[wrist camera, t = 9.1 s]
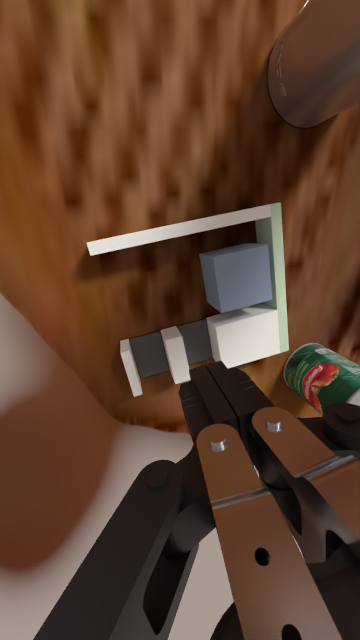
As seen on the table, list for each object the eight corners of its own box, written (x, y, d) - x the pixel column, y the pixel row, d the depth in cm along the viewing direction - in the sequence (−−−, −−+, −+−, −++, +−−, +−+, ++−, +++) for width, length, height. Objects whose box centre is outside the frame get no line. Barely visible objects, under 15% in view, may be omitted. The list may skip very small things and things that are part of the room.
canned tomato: (330, 380, 41) (399, 428, 31) (285, 396, 40) (341, 451, 30) (328, 335, 39) (404, 372, 28) (280, 351, 38) (341, 395, 27)
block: (246, 242, 32) (268, 244, 27) (251, 290, 34) (272, 299, 29) (198, 253, 31) (213, 257, 26) (207, 302, 33) (221, 313, 28)
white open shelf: (263, 205, 31) (280, 202, 27) (273, 339, 37) (288, 350, 33) (90, 241, 28) (86, 242, 25) (132, 381, 34) (133, 396, 31)
